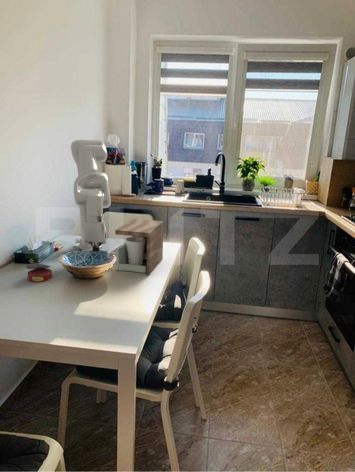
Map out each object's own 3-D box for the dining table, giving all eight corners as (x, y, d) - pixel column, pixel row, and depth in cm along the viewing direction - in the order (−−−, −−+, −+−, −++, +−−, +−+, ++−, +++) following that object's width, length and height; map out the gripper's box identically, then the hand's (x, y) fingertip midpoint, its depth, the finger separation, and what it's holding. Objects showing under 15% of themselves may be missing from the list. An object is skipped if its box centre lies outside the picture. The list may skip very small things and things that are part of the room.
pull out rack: (104, 268, 169) (104, 248, 167) (120, 255, 188) (119, 237, 185) (145, 272, 165) (145, 252, 163) (156, 259, 184) (157, 240, 182)
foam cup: (135, 269, 170) (135, 243, 167) (122, 264, 175) (121, 239, 172) (149, 264, 177) (149, 239, 174) (135, 260, 183) (135, 235, 179)
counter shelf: (116, 271, 166) (115, 230, 161) (133, 256, 189) (132, 219, 184) (149, 275, 163) (149, 232, 158) (162, 258, 186) (163, 221, 180)
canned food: (28, 290, 155) (17, 269, 154) (46, 280, 164) (35, 261, 163) (43, 284, 149) (31, 263, 148) (60, 274, 157) (50, 254, 156)
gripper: (77, 219, 173) (79, 255, 178) (106, 221, 170) (107, 257, 175) (84, 215, 180) (85, 250, 185) (112, 218, 177) (113, 253, 182)
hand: (96, 254), depth 180 cm, fingers closed
